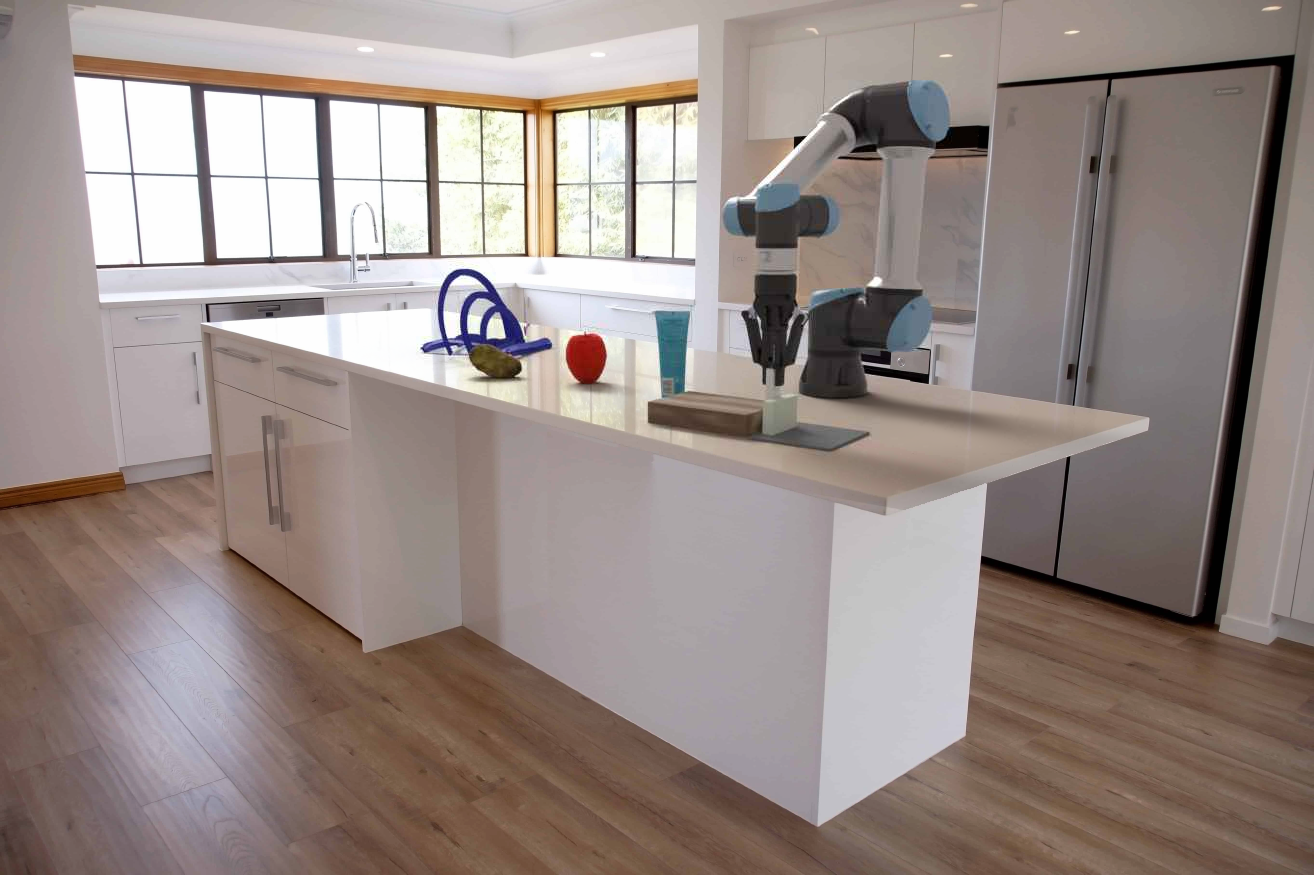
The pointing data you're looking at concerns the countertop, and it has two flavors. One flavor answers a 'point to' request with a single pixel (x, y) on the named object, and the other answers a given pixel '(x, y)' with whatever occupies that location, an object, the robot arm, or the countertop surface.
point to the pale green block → (779, 414)
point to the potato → (494, 361)
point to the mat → (813, 436)
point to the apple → (586, 357)
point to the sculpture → (483, 322)
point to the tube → (672, 350)
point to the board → (708, 413)
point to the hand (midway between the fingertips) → (772, 403)
